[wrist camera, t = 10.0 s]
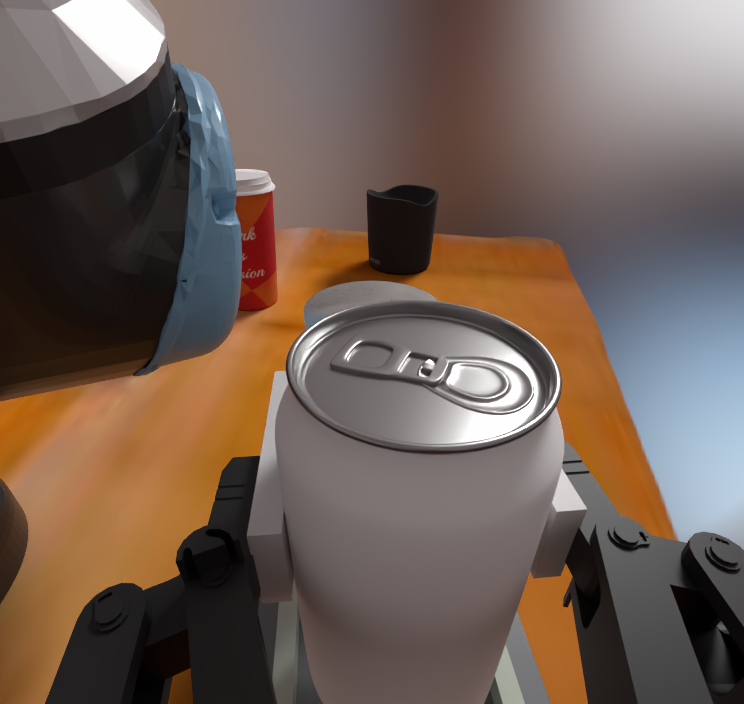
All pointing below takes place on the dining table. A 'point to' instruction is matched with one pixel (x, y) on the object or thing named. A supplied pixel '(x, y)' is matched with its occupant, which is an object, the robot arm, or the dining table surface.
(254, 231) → the paper cup
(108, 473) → the dining table surface
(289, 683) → the pocket board
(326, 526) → the can
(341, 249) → the dining table surface
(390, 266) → the pen holder
